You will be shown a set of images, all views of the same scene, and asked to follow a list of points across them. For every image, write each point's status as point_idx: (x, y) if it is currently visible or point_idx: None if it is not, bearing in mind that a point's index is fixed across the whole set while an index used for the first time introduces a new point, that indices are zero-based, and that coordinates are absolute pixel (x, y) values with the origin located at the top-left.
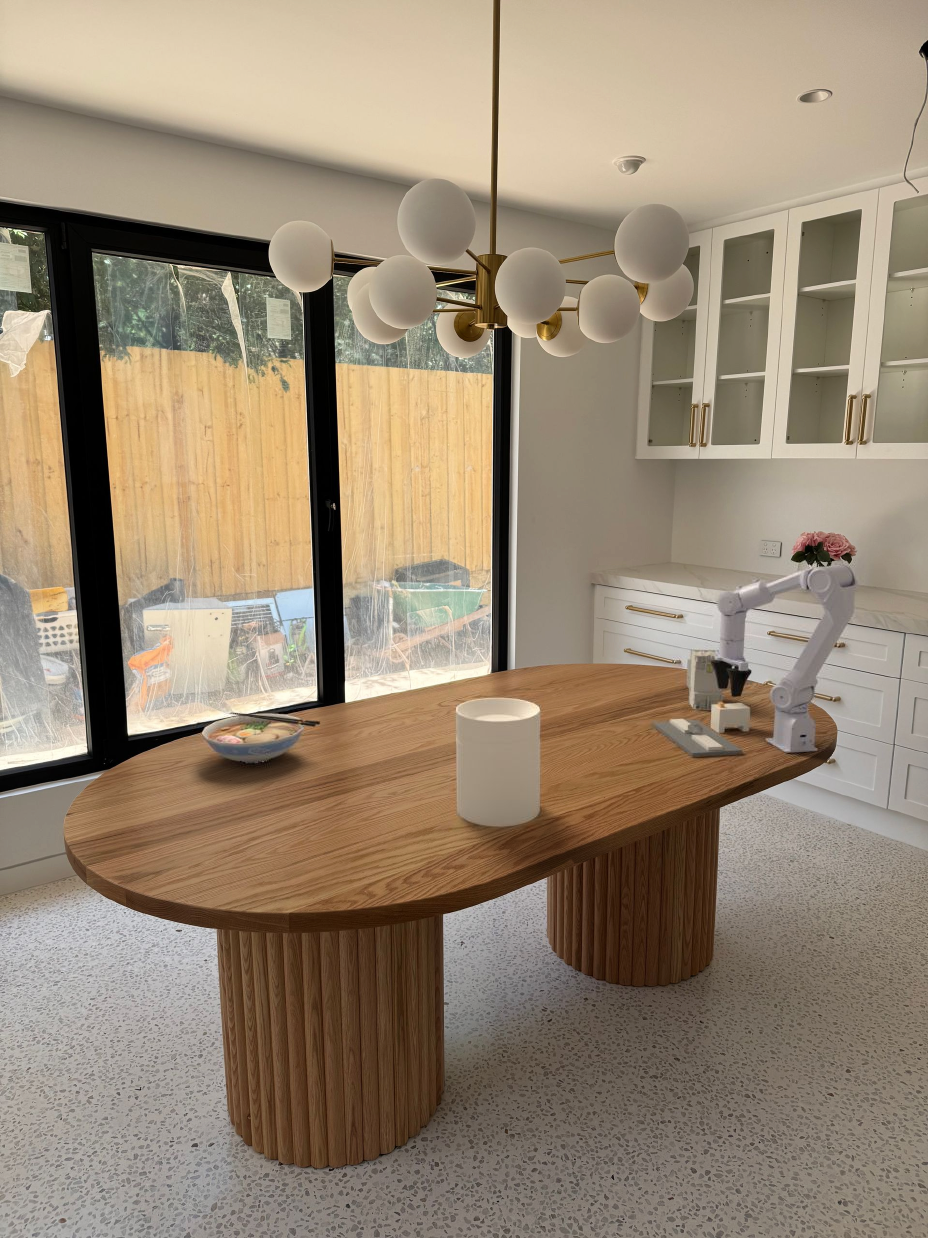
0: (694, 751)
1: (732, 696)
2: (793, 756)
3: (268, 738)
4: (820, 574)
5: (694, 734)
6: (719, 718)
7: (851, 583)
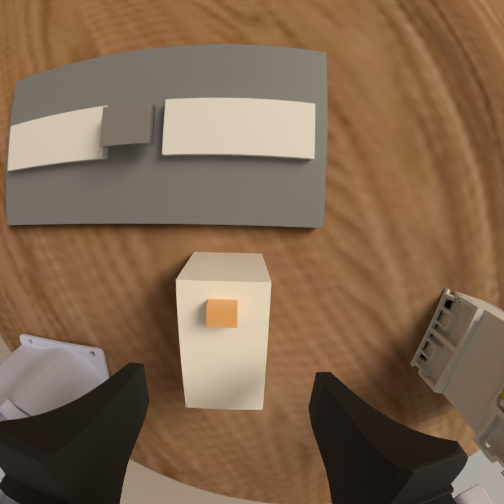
0: (22, 88)
1: (135, 363)
2: (12, 335)
3: None
4: None
5: None
6: (184, 267)
7: None
